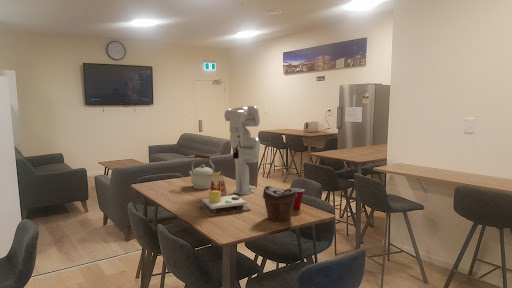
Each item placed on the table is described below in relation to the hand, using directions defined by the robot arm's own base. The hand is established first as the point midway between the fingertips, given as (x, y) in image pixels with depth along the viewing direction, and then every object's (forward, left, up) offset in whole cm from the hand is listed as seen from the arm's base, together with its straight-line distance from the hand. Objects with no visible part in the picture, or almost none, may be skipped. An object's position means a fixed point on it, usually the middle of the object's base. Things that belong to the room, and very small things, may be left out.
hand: (235, 158), depth 230 cm
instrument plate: (+12, +10, -25) cm, 30 cm away
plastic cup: (-28, +27, -29) cm, 49 cm away
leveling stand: (+12, +10, -29) cm, 33 cm away
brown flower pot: (-10, +40, -29) cm, 51 cm away
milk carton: (+9, -10, -29) cm, 32 cm away
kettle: (+7, -53, -29) cm, 61 cm away
